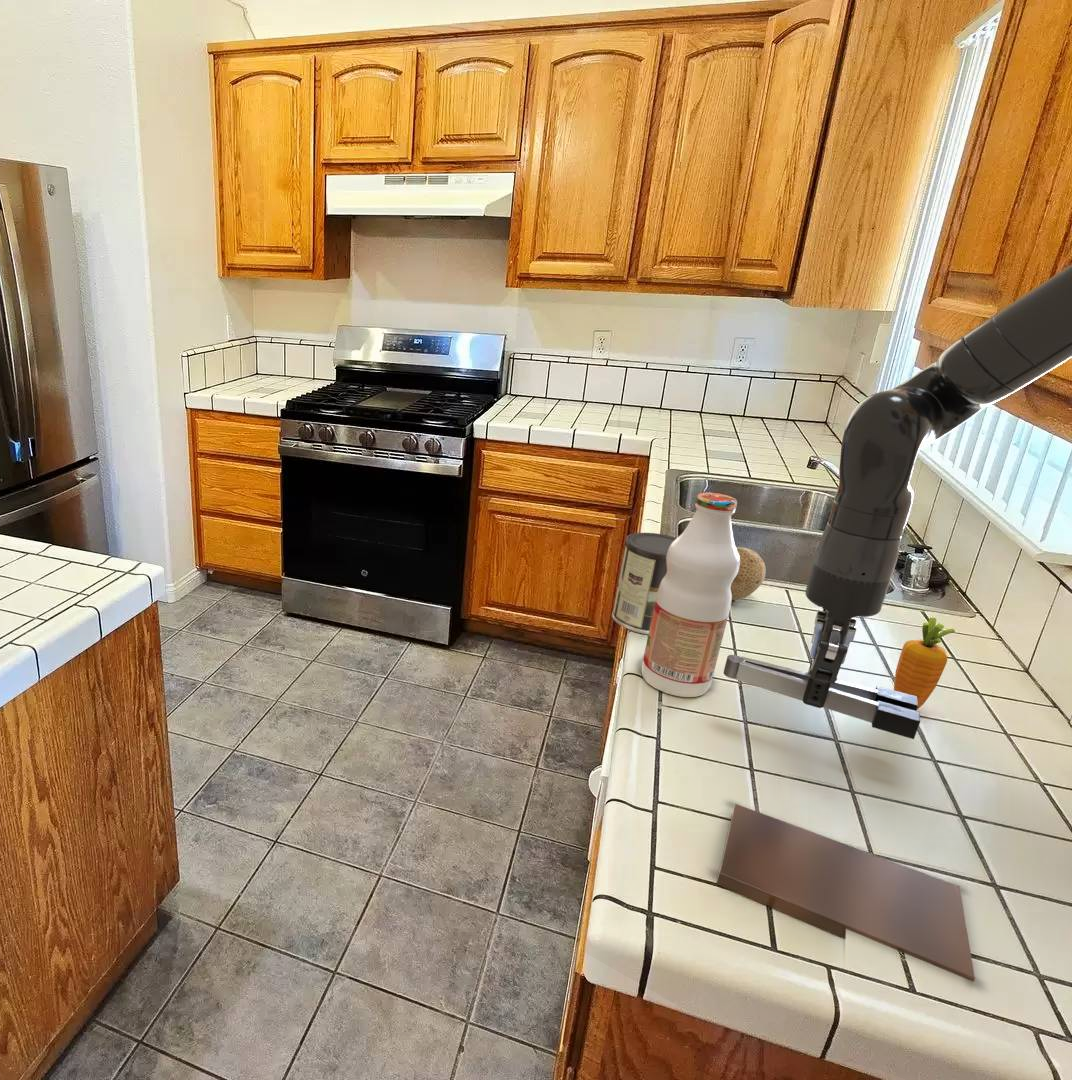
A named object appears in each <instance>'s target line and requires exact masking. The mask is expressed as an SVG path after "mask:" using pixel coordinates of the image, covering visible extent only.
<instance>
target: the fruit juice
mask: <svg viewBox="0 0 1072 1080" xmlns="http://www.w3.org/2000/svg"><path fill="white" fill-rule="evenodd" d="M694 501H695V504H694V506H695V509H696V510H695V512H694V513H693V516H692V518H691V519H690V521H689V522H688V524H687V526H686V527H685V528H684V530H683V532H682V533H680V535H678V536H677V537H675V538H676V539H675V540H674V541H673V542H672V543H671V545H670V547H669V549H668V552H667V556H666V564H667V573H666V575H665V576H664V578H663V579H662V581H661V583H660V586H659V589H658V592H657V596H656V602H655V606H654V611H653V616H652V620H651V625H650V630H649V634H647V639H646V644H645V647H644V654H643V658H642V663H641V676H642V678H643V680H644V681H645V682H646V683H648V685H649V686H651V687H653V689H656V690H658V691H660V692H662V693H665V694H668V695H671V696H676V697H682V698H696V697H700V696H703V695H705V694H706V693H707V692H708V690H709V689H710V687H711V684H712V681H713V677H714V674H715V670H716V666H717V662H718V657H719V654H720V651H721V646H722V642H723V638H724V635H725V631H726V628H727V627H726V626H727V622H728V619H729V616H730V611H731V607H732V601H733V600H732V593H731V589H730V588H731V583H732V582H733V580H734V579H735V577H736V575H737V573H738V571H739V566H740V556H739V553H738V551H737V549H736V547H737V546H736V543H735V538H734V532H733V523H732V515H733V514H735V513H736V510H737V505H738V501H737V498H734V497H732V496H730V495H727V494H723V493H718V492H709V491H708V492H707V491H705V492H699V493H698V494H697V496H696V498H695V500H694Z"/></svg>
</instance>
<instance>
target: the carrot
mask: <svg viewBox="0 0 1072 1080" xmlns="http://www.w3.org/2000/svg"><path fill="white" fill-rule="evenodd" d="M944 628H945V625H944V624H942V623H940V622H938V623H937V618H936V617H928V622H922V626H921V632H922V633H921V634H922V639H911V640H907V641H906V642H905V643H904V644H903V646H902V649H901V652H900V654H899V658H898V662H897V664H896V669H895V674H894V681H893V682H894V683H893V684H894V685H893V690H894V691H898V692H902V693H906V694H909V695H913V696H917V701H918V708H917V710H916V711H918V710H919V709H920V708H921V707H922V706H923V705H924V704H925V703H926V702H927V700H928V699H929V698H930V696H931V694H932V693H933V692H934V691H935V689H936V687H937V686H938V683H939V681H940V679H941V677H942V675H943V672H944V670H945V668H946V665H947V663H948V655H947V651H946V650H945V649H944V647H942V646H941V645H938V644H940V643H941V642H942V639H941V638H943V637H944V636H946V635H950V634H953V633H956V630H955V629H954V628H947V629H944ZM943 629H944V630H943Z"/></svg>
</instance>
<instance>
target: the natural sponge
mask: <svg viewBox="0 0 1072 1080" xmlns="http://www.w3.org/2000/svg"><path fill="white" fill-rule="evenodd" d="M736 549H737V551H738V553H739V556H740V566H739V571H738V573H737V575H736V577H735V579H734V580H733V582H732V583H731V588H730V589H731V593H732V601H740V600H743V599H746V598H747V597H749V596H751V595H752V594H754V592H756V590H758V589H759V588H760V587H761V585H762V584H763V582H764V580H765V578H766V571H767V569H766V563H765V562H764V560H763V558H762V557H761V556H760V555H759V554H758V553H757V552H756V551H755V550H753V549H750V548H747V547H740V546H738V547H737V546H736Z"/></svg>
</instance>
